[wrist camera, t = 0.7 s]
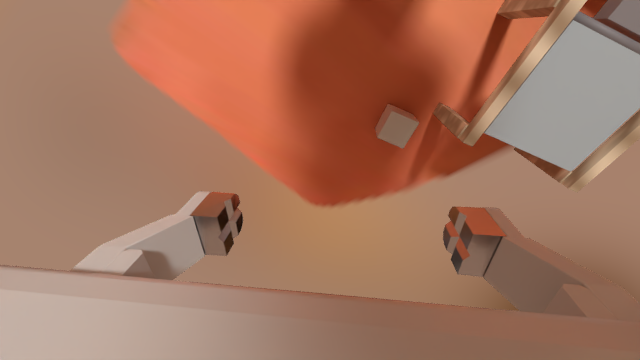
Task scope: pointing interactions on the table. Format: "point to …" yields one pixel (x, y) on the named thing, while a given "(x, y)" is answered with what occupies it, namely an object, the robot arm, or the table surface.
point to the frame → (561, 8)
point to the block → (396, 126)
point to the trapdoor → (577, 88)
